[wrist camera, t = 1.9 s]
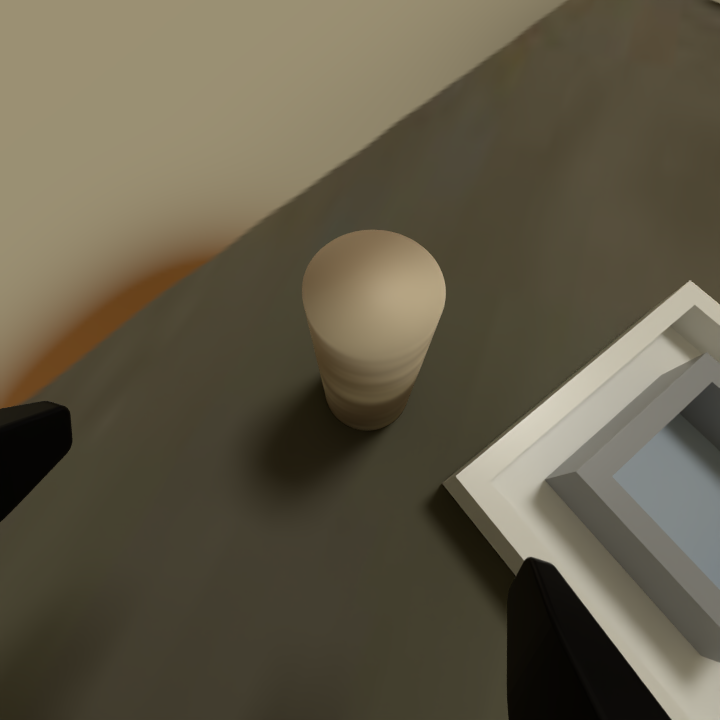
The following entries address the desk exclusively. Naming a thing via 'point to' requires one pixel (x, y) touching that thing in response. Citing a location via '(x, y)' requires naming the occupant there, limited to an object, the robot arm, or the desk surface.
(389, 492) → the desk surface
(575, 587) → the housing
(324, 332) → the beige domed cylinder
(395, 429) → the desk surface
